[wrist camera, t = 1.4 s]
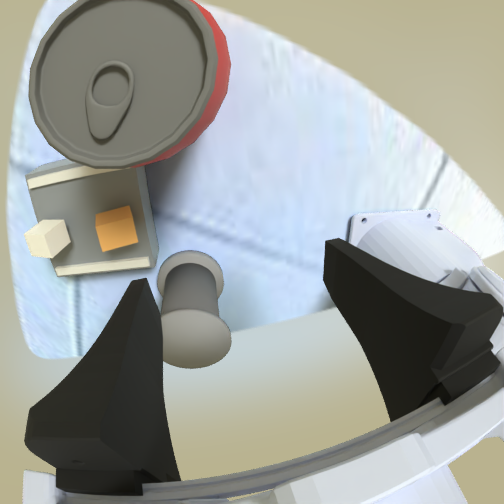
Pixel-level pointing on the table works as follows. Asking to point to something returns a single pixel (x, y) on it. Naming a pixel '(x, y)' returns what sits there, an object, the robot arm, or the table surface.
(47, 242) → the cream cube
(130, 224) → the orange cube
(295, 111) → the table surface
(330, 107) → the table surface
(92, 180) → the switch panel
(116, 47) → the beer can
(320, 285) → the table surface
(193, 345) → the cord spool
